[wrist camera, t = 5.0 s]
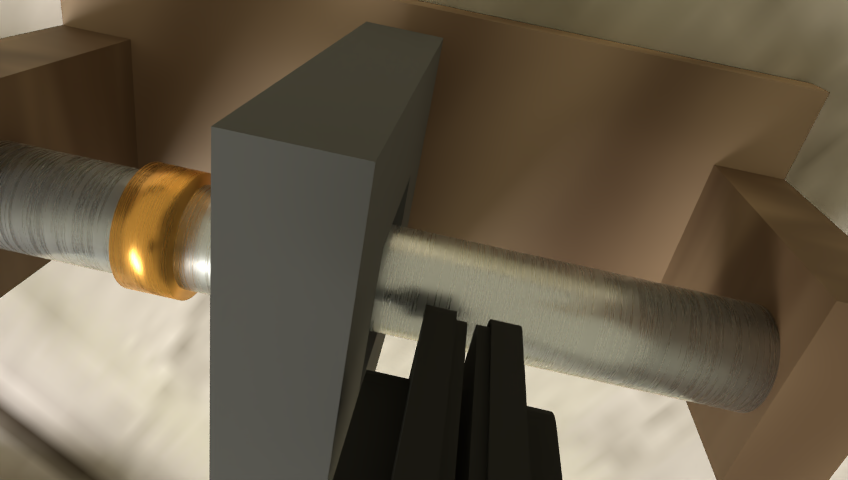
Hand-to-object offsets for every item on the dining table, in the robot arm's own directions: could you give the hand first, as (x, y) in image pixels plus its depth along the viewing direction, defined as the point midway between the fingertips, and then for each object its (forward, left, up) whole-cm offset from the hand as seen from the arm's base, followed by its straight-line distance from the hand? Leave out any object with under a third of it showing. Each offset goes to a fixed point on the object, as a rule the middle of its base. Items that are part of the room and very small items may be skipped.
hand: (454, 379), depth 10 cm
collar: (+3, 0, -7) cm, 8 cm away
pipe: (+2, 0, -4) cm, 5 cm away
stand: (+2, 0, -9) cm, 10 cm away
